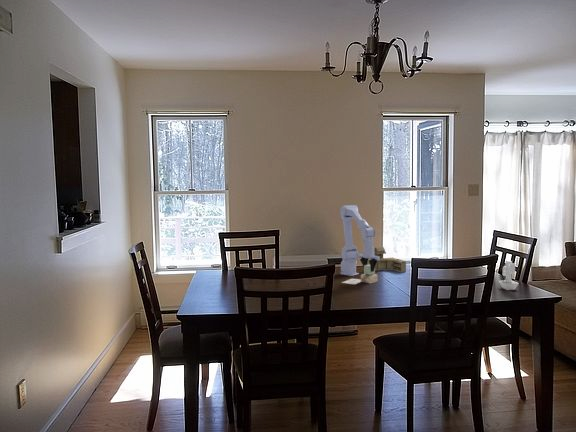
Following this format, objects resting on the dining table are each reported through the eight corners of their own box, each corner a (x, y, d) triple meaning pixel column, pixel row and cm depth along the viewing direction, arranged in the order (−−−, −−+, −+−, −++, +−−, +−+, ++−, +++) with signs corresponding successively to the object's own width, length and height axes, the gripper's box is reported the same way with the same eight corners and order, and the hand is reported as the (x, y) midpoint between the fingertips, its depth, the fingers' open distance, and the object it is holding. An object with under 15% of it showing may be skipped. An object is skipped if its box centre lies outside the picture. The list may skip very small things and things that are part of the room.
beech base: (360, 281, 266) (360, 274, 265) (368, 279, 271) (368, 272, 270) (370, 283, 261) (370, 276, 260) (377, 281, 265) (377, 274, 265)
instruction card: (341, 282, 265) (341, 282, 265) (351, 278, 274) (351, 278, 274) (355, 284, 259) (355, 284, 259) (365, 280, 269) (365, 279, 269)
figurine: (510, 286, 244) (510, 258, 243) (520, 290, 235) (520, 262, 233) (497, 286, 244) (497, 259, 243) (506, 291, 234) (506, 262, 233)
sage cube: (364, 273, 266) (363, 265, 265) (368, 272, 269) (368, 264, 268) (370, 274, 262) (370, 266, 262) (374, 273, 265) (374, 265, 265)
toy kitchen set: (381, 275, 282) (380, 251, 281) (367, 270, 298) (367, 247, 296) (406, 272, 288) (406, 248, 287) (391, 267, 304) (391, 245, 303)
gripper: (354, 247, 267) (354, 270, 268) (374, 250, 256) (374, 273, 257) (362, 246, 271) (362, 268, 273) (381, 248, 261) (382, 271, 262)
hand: (368, 270), depth 265 cm, fingers closed on sage cube, 4 cm apart
